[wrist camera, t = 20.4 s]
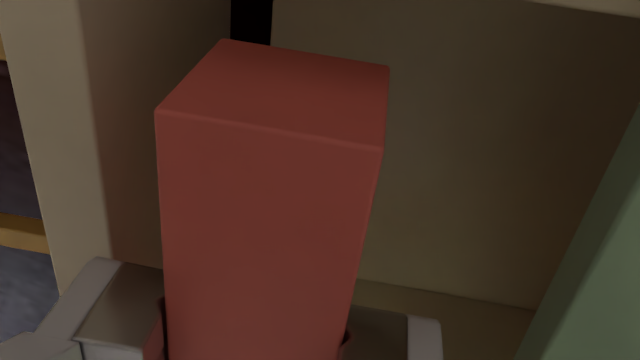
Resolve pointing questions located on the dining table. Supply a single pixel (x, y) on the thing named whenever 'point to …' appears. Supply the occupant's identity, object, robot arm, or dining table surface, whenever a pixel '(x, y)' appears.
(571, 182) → the drawer
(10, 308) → the dining table surface
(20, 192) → the dining table surface
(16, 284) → the dining table surface
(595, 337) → the cabinet
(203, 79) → the red rectangular block
